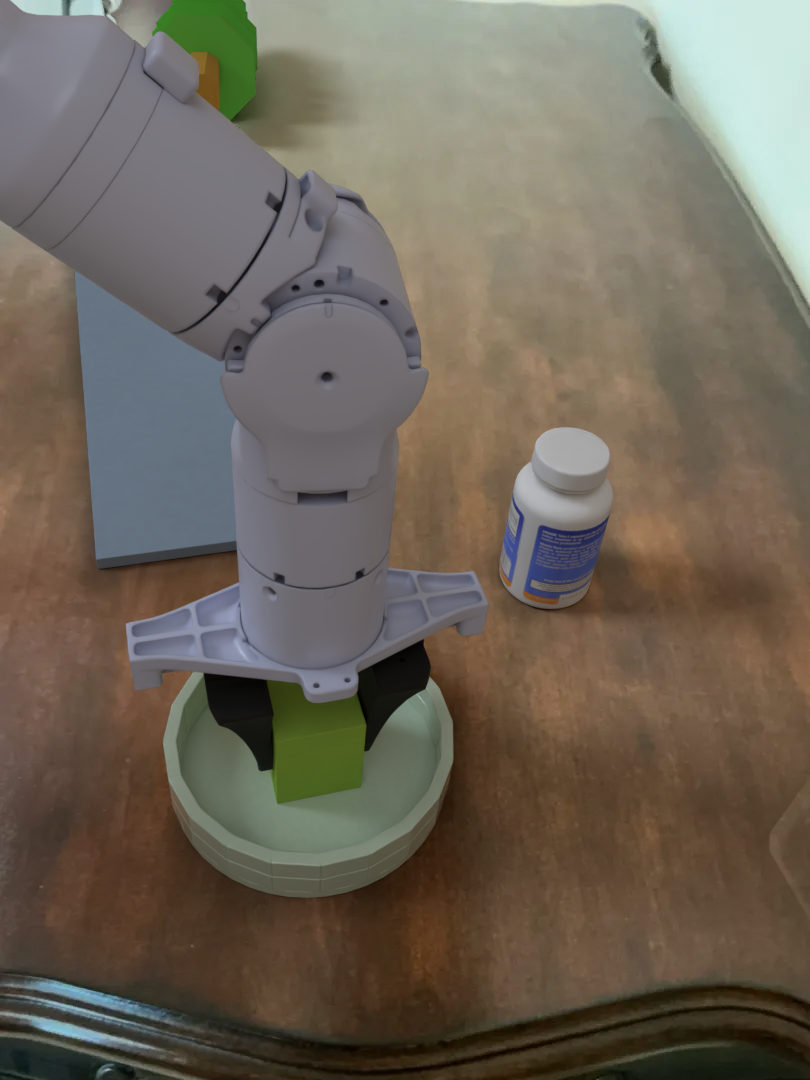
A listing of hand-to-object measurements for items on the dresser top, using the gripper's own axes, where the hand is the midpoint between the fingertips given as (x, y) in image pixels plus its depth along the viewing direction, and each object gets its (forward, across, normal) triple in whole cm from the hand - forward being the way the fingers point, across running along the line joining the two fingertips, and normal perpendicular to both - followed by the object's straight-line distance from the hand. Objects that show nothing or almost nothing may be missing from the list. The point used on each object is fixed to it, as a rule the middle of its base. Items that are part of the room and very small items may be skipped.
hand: (310, 743), depth 45 cm
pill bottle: (+2, +16, +10) cm, 19 cm away
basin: (+2, 0, 0) cm, 2 cm away
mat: (+2, -4, +33) cm, 34 cm away
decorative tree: (+2, +7, +87) cm, 87 cm away
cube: (+1, 0, 0) cm, 1 cm away
